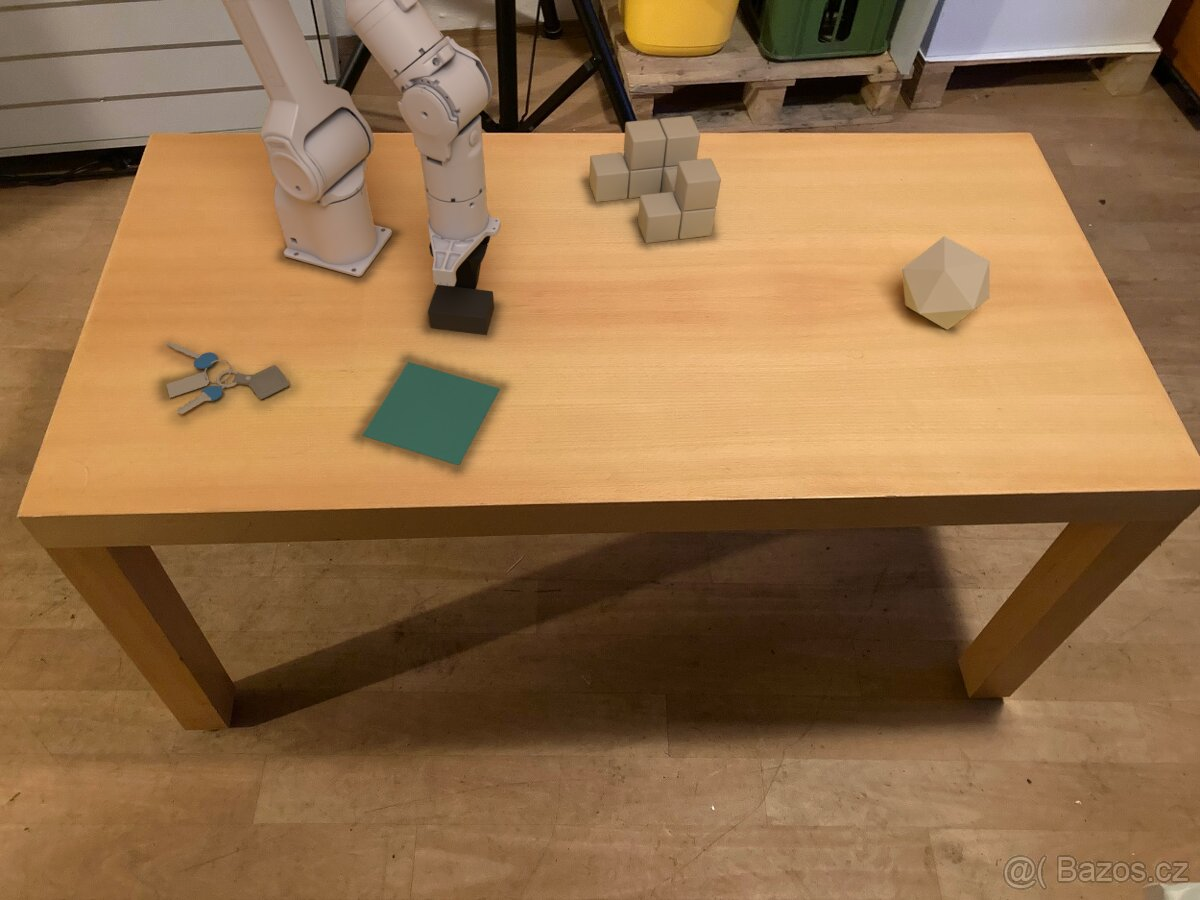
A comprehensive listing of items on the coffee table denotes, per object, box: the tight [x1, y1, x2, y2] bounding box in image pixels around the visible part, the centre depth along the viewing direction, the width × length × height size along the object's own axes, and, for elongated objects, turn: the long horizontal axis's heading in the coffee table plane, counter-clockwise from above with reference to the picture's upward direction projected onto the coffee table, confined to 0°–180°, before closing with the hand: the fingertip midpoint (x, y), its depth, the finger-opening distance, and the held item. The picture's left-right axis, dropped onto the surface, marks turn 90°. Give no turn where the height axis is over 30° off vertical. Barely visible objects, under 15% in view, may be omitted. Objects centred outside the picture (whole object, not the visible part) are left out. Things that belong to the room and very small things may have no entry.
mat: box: [362, 361, 501, 466], centre depth 89 cm, size 10×10×1 cm
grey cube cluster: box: [588, 115, 722, 244], centre depth 105 cm, size 12×12×8 cm
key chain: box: [165, 341, 291, 415], centre depth 89 cm, size 14×8×1 cm, turn 76°
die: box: [901, 235, 991, 331], centre depth 97 cm, size 8×9×10 cm
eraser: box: [427, 284, 495, 336], centre depth 95 cm, size 6×4×2 cm, turn 83°
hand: (466, 289), depth 97 cm, fingers closed
